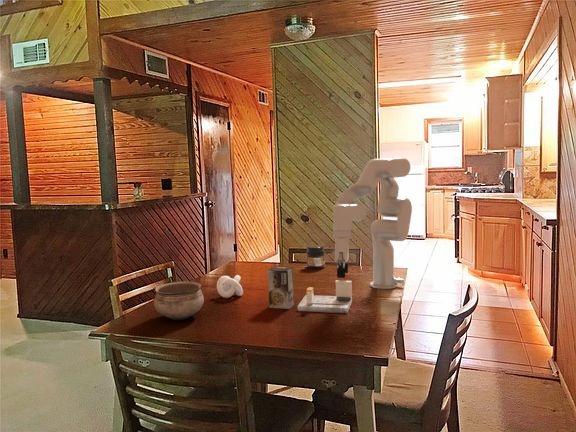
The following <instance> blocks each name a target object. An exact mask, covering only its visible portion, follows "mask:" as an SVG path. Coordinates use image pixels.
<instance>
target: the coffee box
mask: <svg viewBox="0 0 576 432" xmlns="http://www.w3.org/2000/svg"><path fill="white" fill-rule="evenodd" d="M293 274H294V273H293V267H292V266H291V267H289V266H272V267H270V268H269V269H267V282H268V283H267V284H268V285H267V286H268V308H270V309H285V310H289V309H291V308H292V307H293V306H294V304H295V302H294V300H295V299H294V277H293V276H294V275H293Z"/></svg>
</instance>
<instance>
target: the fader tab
mask: <svg viewBox="0 0 576 432" xmlns="http://www.w3.org/2000/svg"><path fill="white" fill-rule="evenodd" d="M305 290H306V291H305V292H306V295H307V304H312V303H313V301H314V296H313V295H314V287H311V286H309V287H307V288H306V289H305Z"/></svg>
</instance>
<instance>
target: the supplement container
mask: <svg viewBox="0 0 576 432" xmlns="http://www.w3.org/2000/svg"><path fill="white" fill-rule="evenodd" d="M306 250H307V251H306V252H305V253H306V256H305V257H306V268H308V269H310V270H321V269H323V268H325V267H326V259H325V258H326V257H325V256H326V255H325V254H326V252H325V246H324V245H320V244H314V245H312V244H311V245H307V246H306Z"/></svg>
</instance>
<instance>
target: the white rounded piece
mask: <svg viewBox="0 0 576 432" xmlns="http://www.w3.org/2000/svg"><path fill="white" fill-rule="evenodd" d="M241 279H242V278H241V276H240V275H238V274H236V275H234V277H233V278H231V276H229V275H222V276H221V277H219V278H218V280H217V282H216V289H217V292H218V295H220V297H222V298H225V299H228V298H231V297H232V296H233V295H234V294H235V295H236V296H238V297H241V296H243V294H244V290H243V287H242V285H241V284H240V282H241Z"/></svg>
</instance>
